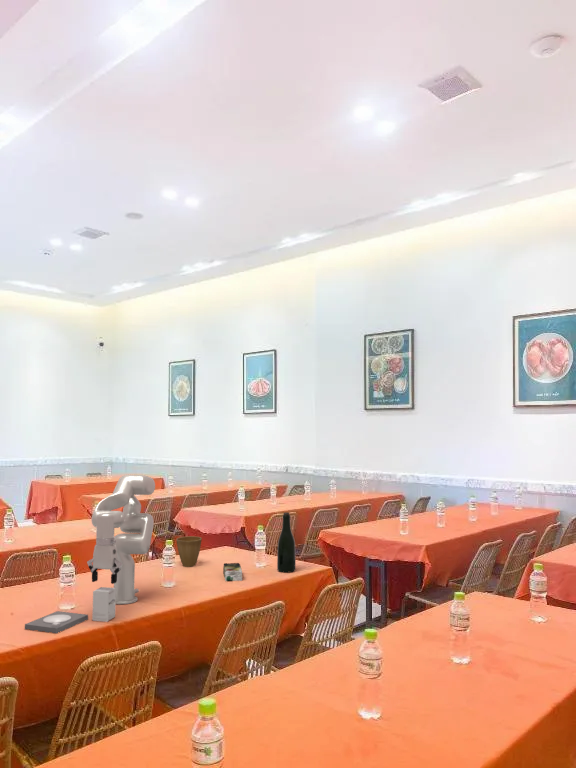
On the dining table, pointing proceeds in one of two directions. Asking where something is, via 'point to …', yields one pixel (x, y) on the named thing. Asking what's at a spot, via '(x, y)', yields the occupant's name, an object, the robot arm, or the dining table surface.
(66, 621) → the mount plate
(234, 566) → the juice carton
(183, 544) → the plant pot
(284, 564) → the beer bottle
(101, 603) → the supplement box
